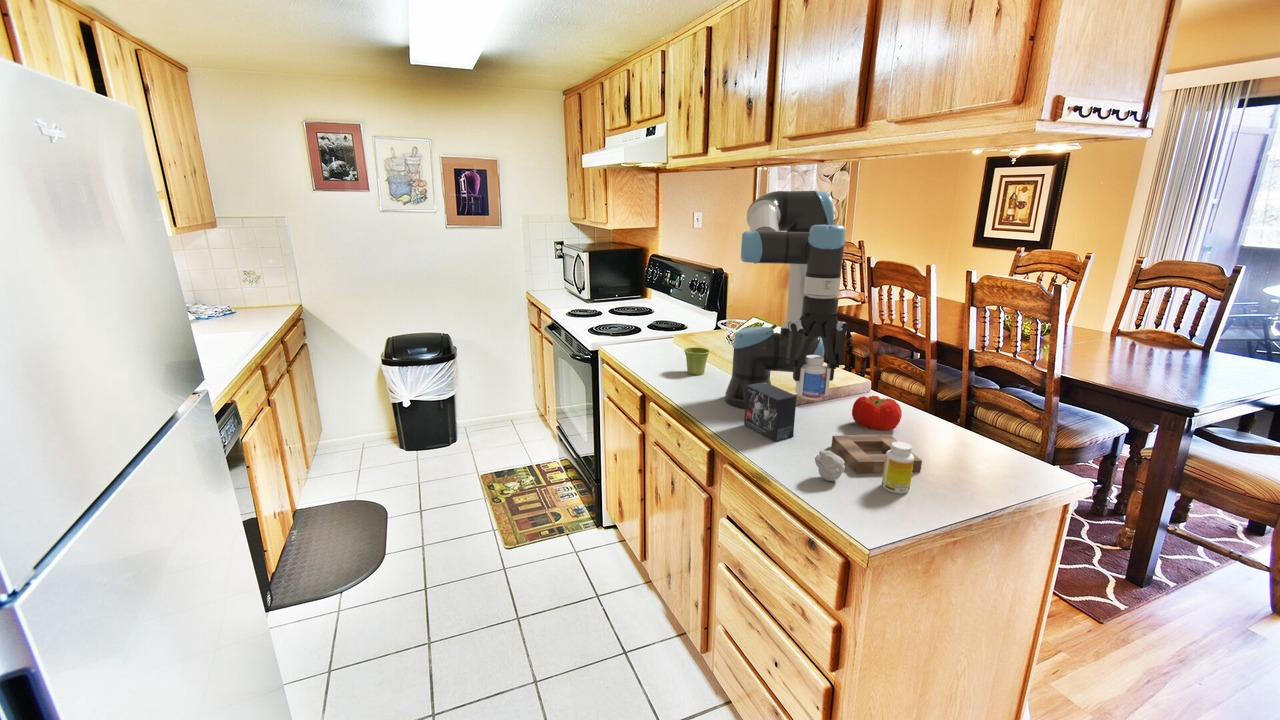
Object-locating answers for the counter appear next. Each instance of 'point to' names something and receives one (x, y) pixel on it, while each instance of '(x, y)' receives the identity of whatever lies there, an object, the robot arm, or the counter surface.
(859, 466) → the walnut holder block
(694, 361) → the plant pot
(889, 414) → the tomato
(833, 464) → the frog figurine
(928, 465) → the counter surface
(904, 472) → the supplement bottle
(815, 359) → the pill bottle
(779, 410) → the small box
